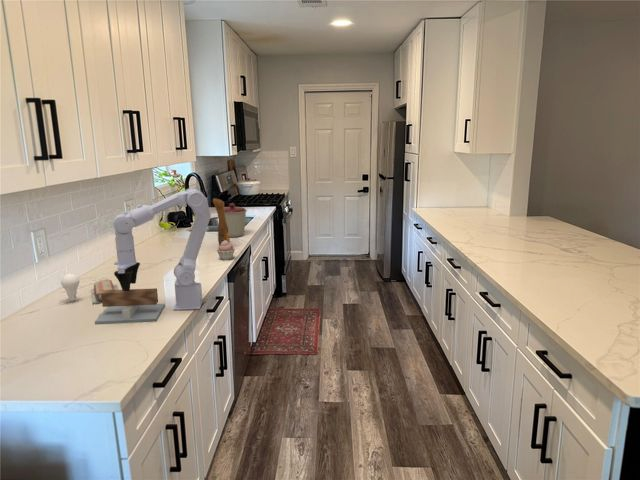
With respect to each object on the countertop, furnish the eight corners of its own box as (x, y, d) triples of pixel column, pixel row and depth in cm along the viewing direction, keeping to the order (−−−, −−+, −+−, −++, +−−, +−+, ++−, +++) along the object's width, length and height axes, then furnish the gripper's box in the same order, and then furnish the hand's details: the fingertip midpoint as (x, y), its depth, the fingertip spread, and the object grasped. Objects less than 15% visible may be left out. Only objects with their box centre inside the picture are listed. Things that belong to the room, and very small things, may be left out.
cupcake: (237, 256, 231) (236, 238, 229) (232, 261, 222) (231, 242, 220) (220, 256, 232) (219, 237, 230) (214, 261, 223) (213, 241, 221)
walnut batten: (158, 301, 158) (157, 288, 156) (156, 304, 155) (155, 291, 153) (105, 303, 155) (104, 290, 154) (102, 306, 152) (101, 293, 151)
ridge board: (164, 305, 164) (164, 295, 163) (156, 321, 150) (155, 310, 149) (108, 308, 161) (107, 298, 160) (95, 324, 148) (93, 313, 147)
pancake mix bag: (220, 251, 240) (217, 201, 234) (214, 244, 258) (212, 196, 251) (232, 250, 243) (230, 200, 236) (226, 243, 260) (224, 196, 254)
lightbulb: (78, 303, 165) (74, 276, 163) (61, 304, 164) (57, 277, 162) (84, 298, 171) (80, 271, 169) (67, 298, 170) (63, 272, 168)
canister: (233, 240, 267) (232, 206, 262) (212, 236, 276) (211, 203, 271) (253, 235, 281) (252, 202, 277) (233, 231, 291) (231, 200, 286)
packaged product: (120, 289, 168) (91, 294, 164) (121, 301, 169) (92, 306, 165) (116, 276, 184) (89, 280, 179) (117, 287, 185) (91, 291, 180)
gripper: (119, 244, 157) (123, 280, 160) (106, 255, 143) (110, 294, 146) (140, 244, 158) (143, 279, 161) (128, 254, 144) (132, 293, 147)
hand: (129, 286), depth 154 cm, fingers open, 7 cm apart
